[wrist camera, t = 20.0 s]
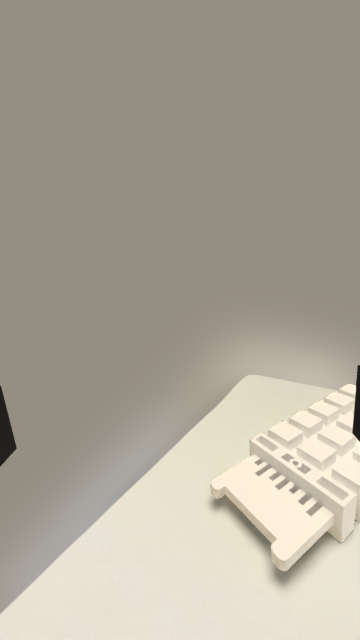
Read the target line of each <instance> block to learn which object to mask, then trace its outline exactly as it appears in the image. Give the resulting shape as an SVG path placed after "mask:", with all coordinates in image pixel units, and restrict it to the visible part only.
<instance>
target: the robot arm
mask: <svg viewBox="0 0 360 640" xmlns="http://www.w3.org/2000/svg"><path fill="white" fill-rule="evenodd" d="M352 434H353V435H354V436H355V437H356V438H357V439H358V440H359V441H360V365H358V371H357V382H356V394H355V406H354V418H353V430H352ZM15 450H16V444H15V440H14V436H13V432H12V428H11V425H10V420H9V417H8V412H7V408H6V404H5V401H4V397H3V393H2V389H1V386H0V466H1V465H2V464H3V463H4V462H5V461H6V459H7V458H8V457H9V456H10V455H11V454H12V453H13V452H14V451H15Z"/></svg>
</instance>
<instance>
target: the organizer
mask: <svg viewBox="0 0 360 640" xmlns="http://www.w3.org/2000/svg"><path fill="white" fill-rule="evenodd" d="M355 394H356V386H355V385H352V384H347V385H346V386H344V387H342V388H340V389H339V393H338V392H336V391H335V392H333V393H331V394H330V395H328V396H326V397H324V402H323V401H321V400H319V401H317V402H315V403H314V404H312V405H310V406H308V407H307V412H306V411H304V410H301V411H300V412H298V413H296V414H294V415H292V416H291V417H289V423H287V422H285V421H282V422H280V423H278V424H277V425H275V426H273V427H271V428H270V429H268V436H267V435H265V434H264V433H261V434H259V435H257V436H255V437H254V438H252V439H250V457H248V458H247V459H245V460H243V461H242V462H240V463H238V464H237V465H235V466H233V467H232V468H230V469H229V470H227V471H225V472H224V473H222V474H220V475H219V476H217V477H215V478H214V479H212V480H211V481H210V489H211V493H212V495H213V496H214V497H215V498H221V497H223V496H224V495H226V496H227V497H228V498H229V499H230V500H231V501H232V502H233V503H234V504H235V505H236V506H237V507H238V508H239V509H240V510H241V512H242V513H243V514H244V515H245V516H246V517H247V518H248V519H249V520H250V521H251V522H252V523H253V524H254V525H255V526H256V527H257V528H258V529H259V531H260V532H261V533H262V534H263V535H264V536H265V537H266V538H267V539H268V540H269V541H270V542H271V543H272V545H271V560H272V562H273V563H274V564H275V565H276V567H277V568H278V569H279V570H281V571H287V570H288V569H289V568H290V567H291V566H292V565H293V564H294V563H295V562H296V561H297V560H298V559H299V558H300V557H301V556H302V555H303V554H304V553H305V552H306V551H307V550H308V549H309V548H310V547H311V546H312V545H313V544H314V543H315V542H316V541H317V540H318V539H319V538H320V537H321V536H322V535H323V534H324V533H325V532H326V531H327V532H328V533H329V534H330V535H332V536H333V537H334V538H335V539H336V540H338V541H339V542H340V543H342V542H343V541H344V540H345V538H346V537H347V536H348V535H349V534H350V533H351V532H352V531H353V530H354V523H355V520H357V521H358V522H360V441H359V440H358V439H357V438H356V437H355V436H354V435H353V434H352V430H353V418H354V406H355Z"/></svg>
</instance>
